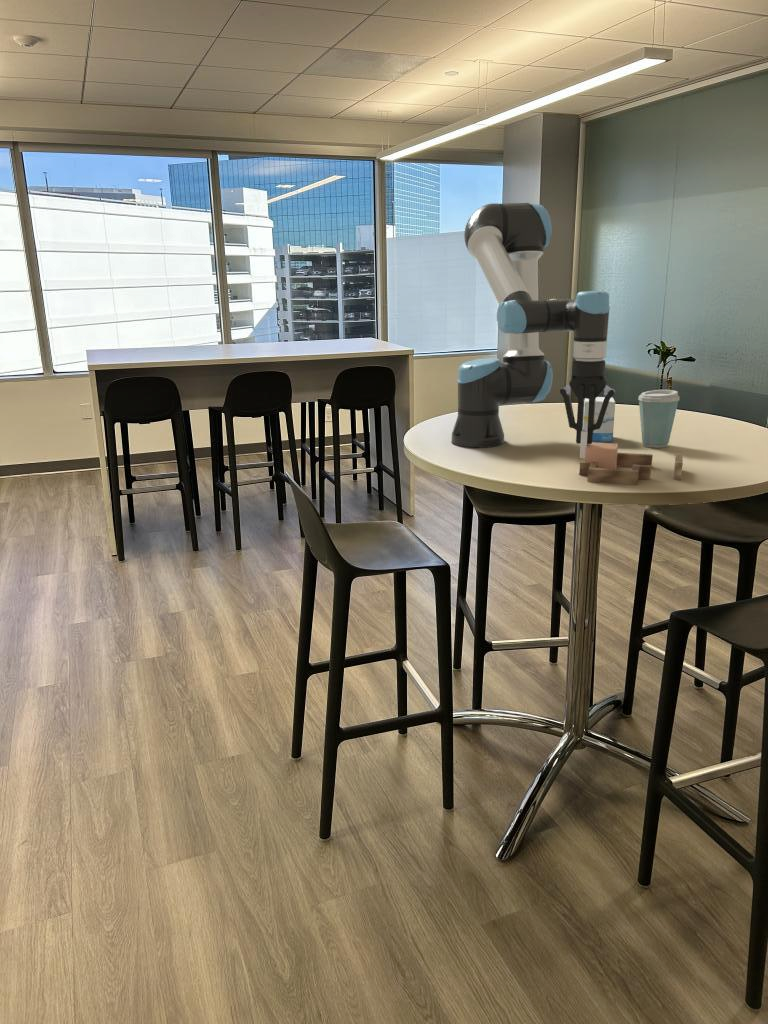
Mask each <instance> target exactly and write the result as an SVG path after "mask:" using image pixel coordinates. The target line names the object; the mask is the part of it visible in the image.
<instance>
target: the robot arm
mask: <svg viewBox="0 0 768 1024" xmlns="http://www.w3.org/2000/svg"><path fill="white" fill-rule="evenodd" d="M552 233H553V229H552V220H551V216H550V214H549V211H548V210H547V209H546V207H544V206H543V205H542V204H539V203H530V202H517V203H516V202H514V203H509V202H508V203H507V202H506V203H498V202H495V203H487V204H484V205H482V206H480V207H479V208H477V209H476V210H475V211H474V212H472V214H471V216H470V217H469V218H468V220H467V222H466V224H465V227H464V234H463V237H464V243H465V247H466V248H467V251H468V253H469V255H471V256H472V257H473V258H474V259H476V260H477V262H478V264H479V267H480V268H481V270H482V272H483V275H484V276H485V278H486V280H487V282H488V285H489V286H490V288H491V290H492V293H493V294H494V297H495V299H496V301H497V303H498V307H497V312H496V321H497V327H498V329H499V330H500V332H502V333H504V334H507V346H508V347H507V351H506V352H505V354H504V355H503V356H502V362H501V360H500V359H499V358H495V357H489V358H477V359H472V360H469V361H465V362H464V363H461V364H460V365H459V367H458V373H457V374H458V376H457V381H456V382H457V417H456V420H455V423H454V426H453V430H452V432H451V443H452V444H453V445H456V446H461V447H466V448H467V447H468V448H490V447H496V446H500V445H501V446H502V444H504V443H505V432H504V428H503V425H502V422H501V419H500V415H499V414H500V405H511V404H515V405H516V404H531V403H536V402H537V403H538V402H541V401H543V400H545V399H546V397H548V394H550V392H551V388H552V384H553V378H554V372H553V368H552V364H551V363H550V362H549V361H548V360H546V359H545V353H544V352H543V351H542V350H541V349H540V344H539V343H540V341H539V340H540V339H539V338H540V335H539V333H553V332H554V333H555V332H556V333H557V332H573V334H574V335H573V347H572V348H573V351H572V358H573V359H574V360H573V361H572V367H571V368H572V369H571V379H570V381H569V384H568V385H566V386H564V387H563V386H562V387H561V388H560V390H559V393H560V395H561V396H562V398H563V402H564V407H565V412H566V416H567V421H568V427H569V428H570V429H574V430H575V431H576V433H575V434H576V438H575V442H576V444H580V446H579V458H580V459H585V448H586V446H587V445H588V444H591V443H592V441H593V431H594V430H596V429H600V427H601V425H602V422H603V419H604V416H605V413H606V410H607V407H608V404H609V400H610V398H611V397H613V396H614V395H615V393H616V390H615V388H611V387H610V386H608V385H607V381H606V378H605V377H606V376H605V374H606V361H605V358H606V357H607V347H608V346H607V345H608V340H607V339H608V333H609V331H608V330H609V316H610V295H609V293H608V292H607V291H606V290H605V291H599V290H597V291H596V290H594V291H593V290H591V291H587V290H585V291H579V292H578V293H577V294H576V296H575V297H576V298H575V299H573V298H562V299H548V300H547V299H546V300H545V299H544V300H543V299H542V300H540V299H539V262H538V261H539V259H540V258H541V257H542V256H543V255H544V249H546V247H548V245H549V244H550V242H551V237H552ZM603 391H604V392H603ZM572 392H573V393H574V395H575V396H576V398H577V412H576V413H577V415H576V416H577V417H576V419H575V414H574V408H573V404H572V403H573V402H572V399H571V394H572ZM602 392H603V396H604V397H605V398H604V401H603V404H602V407H601V410H600V413H599V416H598V420H597V423H596V424H594V414H595V400H596V397H599V395H600V394H601V393H602ZM585 398H587V399H589V412H588V429H587V430H584V429H583V430H582V428H583V415H584V401H585Z"/></svg>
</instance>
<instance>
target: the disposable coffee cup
mask: <svg viewBox="0 0 768 1024" xmlns="http://www.w3.org/2000/svg"><path fill="white" fill-rule="evenodd" d="M680 399H681V398H680V395H679V391H677V390H672V389H654V390H648V391H643V392H642V393H640V395H638V399H637V400H638V405H639V415H640V416H639V418H640V419H639V420H640V428H641V441H642V444H643V447H648V448H658V449H660V448H667V447H668V444H669V443H670V439H671V435H672V430H673V425H674V421H675V417H676V413H677V409H678V404H679V401H680Z"/></svg>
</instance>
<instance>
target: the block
mask: <svg viewBox="0 0 768 1024" xmlns="http://www.w3.org/2000/svg"><path fill="white" fill-rule="evenodd" d="M618 449H619V443H613V442H592V443H591V444H588V445H587V446H586V448H585V458H584V462H598V468H606V469H617V467H618V466H617V453H619V452H618V451H619V450H618Z"/></svg>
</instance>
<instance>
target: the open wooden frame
mask: <svg viewBox="0 0 768 1024" xmlns="http://www.w3.org/2000/svg"><path fill="white" fill-rule="evenodd" d="M683 456H684V455H683V453H681V452H680V453H679V452H678V453H677V452H676V453H675V458H674V469H673V471H674V472H673V473H674V474H673V480H675V481H681V480H682V475H683V463H684V462H683V461H684V460H683V459H684V458H683ZM616 467H631V469H621V468H620V469H618V468H616V469H606V468H598V462H585V460H584V461H583V460H581V461H580V462H579V473H578V475H580V476H587V482H590V483H591V482H592V483H606V484H618V485H634V486H635V485H636V486H638V485H639V480H648V481H649V480H650V481H651V473H652V467H653V454H650V453H649V454H646V453H632V452H630V453H629V452H628V453H627V452H618V453H617V466H616Z"/></svg>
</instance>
